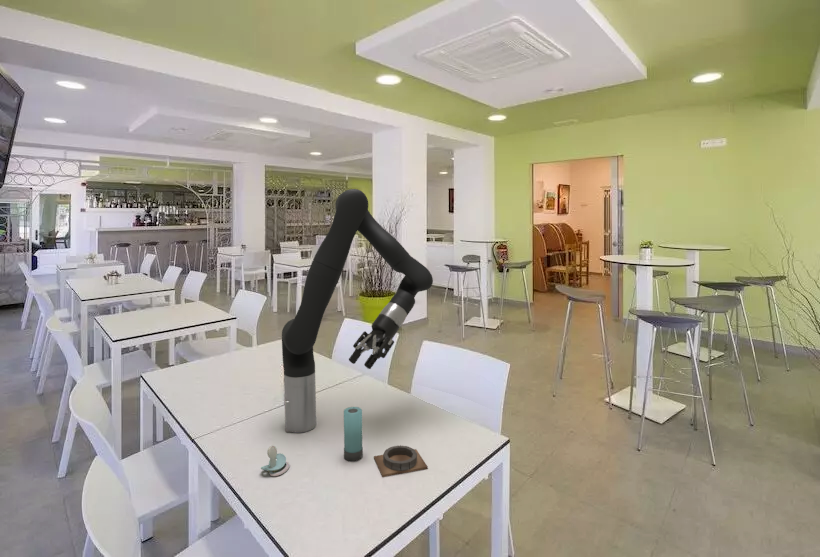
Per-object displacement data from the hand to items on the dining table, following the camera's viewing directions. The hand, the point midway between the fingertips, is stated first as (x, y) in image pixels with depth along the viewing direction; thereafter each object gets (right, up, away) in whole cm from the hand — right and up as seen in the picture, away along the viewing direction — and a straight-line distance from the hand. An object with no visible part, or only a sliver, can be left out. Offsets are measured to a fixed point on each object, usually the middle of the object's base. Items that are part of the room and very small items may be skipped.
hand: (358, 364), depth 126 cm
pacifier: (-19, -24, -15) cm, 34 cm away
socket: (+12, -24, -12) cm, 29 cm away
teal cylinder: (0, -23, -9) cm, 25 cm away
